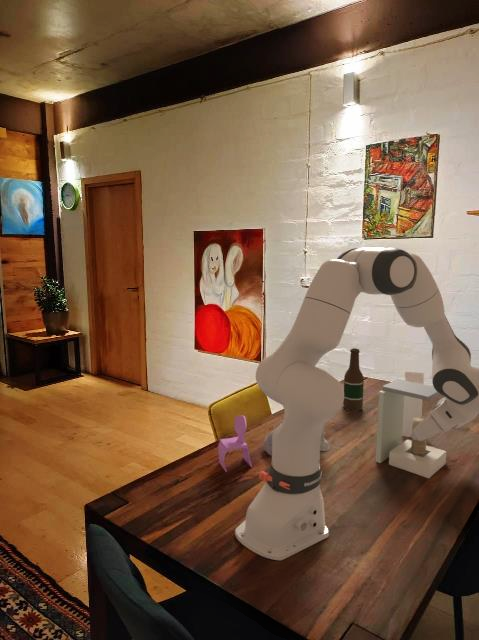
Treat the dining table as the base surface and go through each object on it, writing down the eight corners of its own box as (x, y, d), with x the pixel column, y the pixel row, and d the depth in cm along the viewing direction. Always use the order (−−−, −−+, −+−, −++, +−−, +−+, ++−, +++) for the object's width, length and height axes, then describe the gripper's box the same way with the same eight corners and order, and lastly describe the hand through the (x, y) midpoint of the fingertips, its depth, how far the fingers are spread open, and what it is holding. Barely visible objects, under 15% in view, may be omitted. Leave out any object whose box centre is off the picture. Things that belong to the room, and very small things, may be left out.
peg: (422, 456, 136) (424, 423, 134) (408, 452, 139) (410, 420, 137) (427, 451, 139) (429, 419, 137) (414, 447, 141) (416, 416, 140)
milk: (420, 438, 157) (424, 375, 153) (401, 436, 159) (404, 374, 155) (419, 431, 163) (423, 370, 159) (401, 429, 165) (405, 369, 161)
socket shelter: (427, 479, 130) (432, 400, 126) (375, 461, 141) (379, 387, 137) (446, 462, 140) (452, 388, 136) (396, 446, 151) (400, 377, 147)
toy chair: (216, 461, 141) (216, 414, 139) (243, 456, 145) (243, 410, 142) (225, 474, 134) (225, 424, 131) (253, 468, 137) (253, 420, 134)
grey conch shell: (284, 470, 141) (277, 441, 138) (259, 456, 151) (251, 428, 147) (311, 449, 148) (304, 421, 144) (285, 437, 157) (279, 410, 153)
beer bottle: (339, 405, 189) (341, 347, 185) (356, 403, 191) (358, 346, 187) (349, 411, 182) (351, 352, 178) (366, 409, 184) (369, 350, 180)
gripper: (459, 392, 138) (424, 415, 147) (431, 411, 124) (394, 435, 132) (474, 410, 136) (438, 433, 144) (447, 431, 121) (409, 455, 130)
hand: (417, 434), depth 138 cm, fingers closed on peg, 4 cm apart
